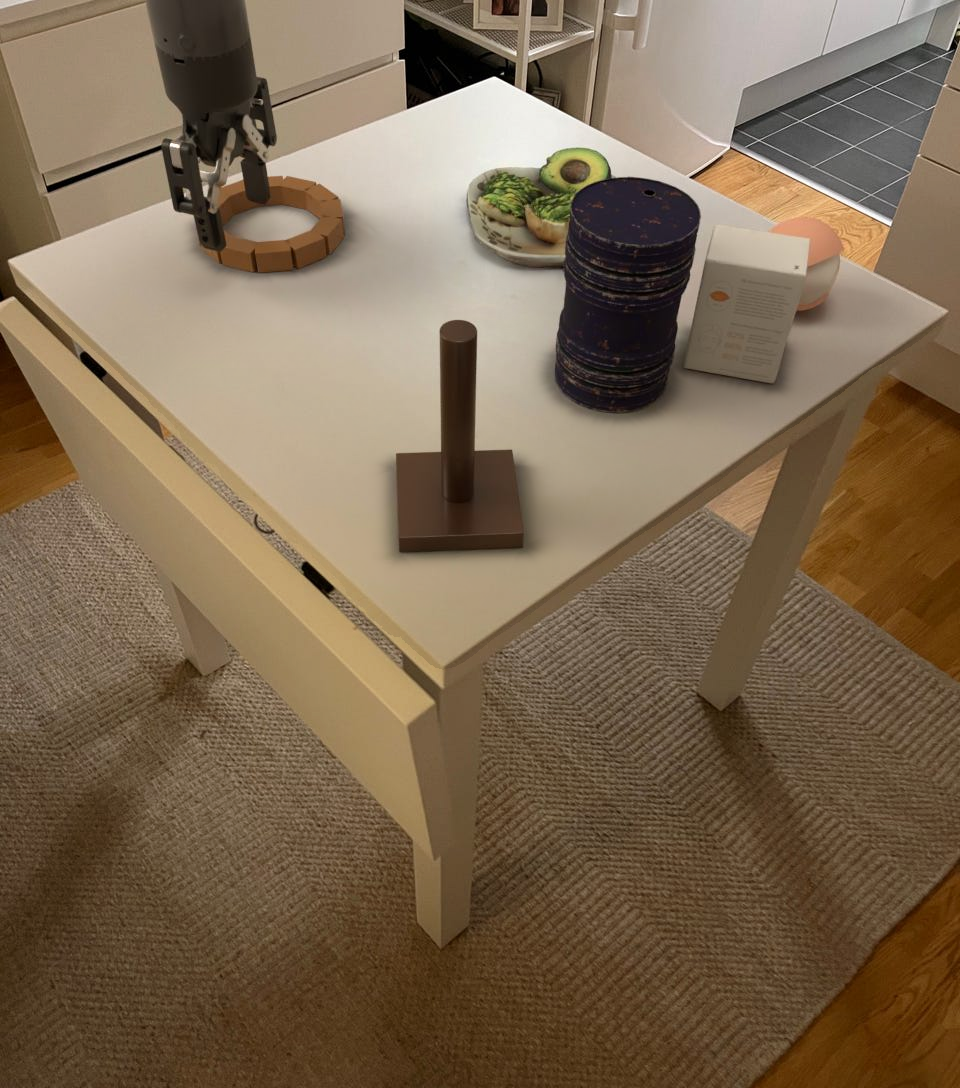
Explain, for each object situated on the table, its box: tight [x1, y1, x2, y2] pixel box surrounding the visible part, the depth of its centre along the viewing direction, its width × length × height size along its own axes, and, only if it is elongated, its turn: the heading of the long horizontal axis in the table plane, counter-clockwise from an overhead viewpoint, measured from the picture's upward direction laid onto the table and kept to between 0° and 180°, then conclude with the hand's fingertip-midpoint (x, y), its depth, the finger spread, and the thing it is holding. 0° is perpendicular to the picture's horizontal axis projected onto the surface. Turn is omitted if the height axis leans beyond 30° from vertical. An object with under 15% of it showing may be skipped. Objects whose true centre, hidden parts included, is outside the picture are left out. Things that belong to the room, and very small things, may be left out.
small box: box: [683, 223, 810, 384], centre depth 83 cm, size 8×6×10 cm
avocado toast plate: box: [465, 147, 617, 268], centre depth 97 cm, size 19×18×5 cm
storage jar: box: [553, 176, 702, 414], centre depth 79 cm, size 10×10×15 cm
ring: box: [196, 175, 346, 274], centre depth 97 cm, size 14×14×2 cm
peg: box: [395, 319, 525, 553], centre depth 69 cm, size 9×9×16 cm
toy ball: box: [768, 216, 845, 312], centre depth 89 cm, size 8×8×8 cm
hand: (237, 224), depth 91 cm, fingers open, 8 cm apart
